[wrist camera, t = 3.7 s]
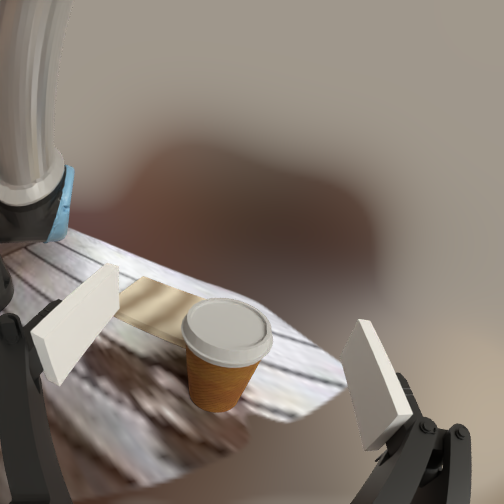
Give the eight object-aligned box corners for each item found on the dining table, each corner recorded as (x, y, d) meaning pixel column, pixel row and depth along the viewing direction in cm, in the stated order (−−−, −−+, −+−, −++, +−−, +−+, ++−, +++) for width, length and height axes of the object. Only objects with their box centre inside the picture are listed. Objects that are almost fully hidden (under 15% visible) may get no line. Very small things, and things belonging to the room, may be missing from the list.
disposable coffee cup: (171, 368, 34) (176, 294, 29) (238, 364, 37) (257, 295, 33) (183, 427, 26) (190, 357, 21) (261, 417, 29) (291, 349, 25)
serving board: (105, 312, 40) (104, 304, 40) (143, 282, 51) (143, 276, 51) (211, 358, 37) (212, 351, 37) (234, 316, 49) (236, 309, 48)
